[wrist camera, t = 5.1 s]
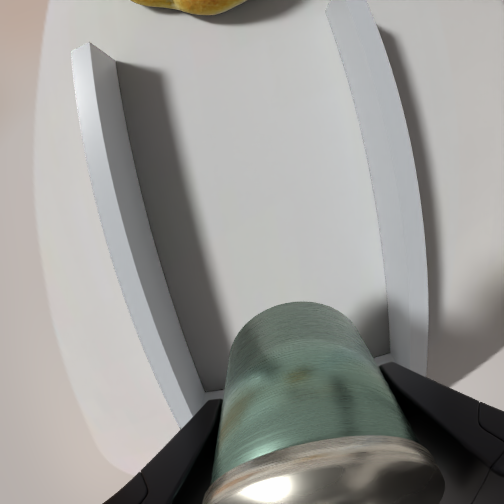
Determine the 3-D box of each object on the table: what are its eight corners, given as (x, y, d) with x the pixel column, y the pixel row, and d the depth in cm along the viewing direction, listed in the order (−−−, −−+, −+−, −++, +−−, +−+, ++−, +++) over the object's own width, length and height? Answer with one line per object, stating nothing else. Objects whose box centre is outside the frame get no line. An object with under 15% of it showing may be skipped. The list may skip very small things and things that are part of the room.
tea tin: (368, 397, 10) (424, 535, 4) (245, 422, 11) (236, 572, 5) (358, 283, 9) (467, 421, 3) (209, 315, 10) (155, 484, 4)
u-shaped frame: (343, 10, 13) (358, -18, 10) (405, 361, 17) (425, 389, 14) (98, 67, 13) (70, 51, 10) (194, 406, 18) (185, 439, 15)
